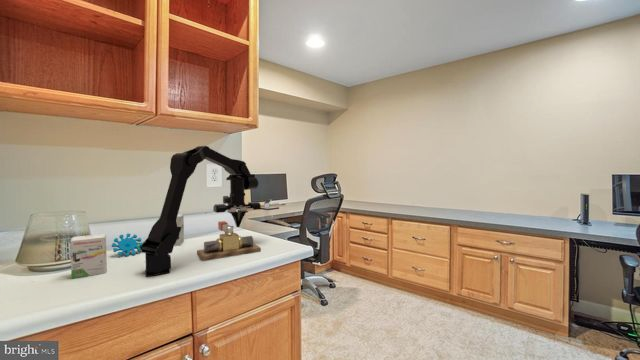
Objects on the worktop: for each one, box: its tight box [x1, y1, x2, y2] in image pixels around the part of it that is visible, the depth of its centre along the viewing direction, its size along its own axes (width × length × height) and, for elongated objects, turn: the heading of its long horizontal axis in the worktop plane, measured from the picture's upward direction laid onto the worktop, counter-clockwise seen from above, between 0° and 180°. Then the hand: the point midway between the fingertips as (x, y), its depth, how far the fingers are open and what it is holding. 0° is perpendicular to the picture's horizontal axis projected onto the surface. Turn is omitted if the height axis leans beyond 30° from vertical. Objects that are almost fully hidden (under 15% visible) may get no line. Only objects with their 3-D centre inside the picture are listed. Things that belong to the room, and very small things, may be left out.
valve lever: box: [217, 220, 234, 235], centre depth 116 cm, size 14×3×3 cm, turn 33°
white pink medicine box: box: [70, 233, 108, 279], centre depth 90 cm, size 8×5×12 cm, turn 125°
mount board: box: [196, 242, 262, 262], centre depth 112 cm, size 22×10×2 cm, turn 122°
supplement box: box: [174, 213, 185, 247], centre depth 126 cm, size 7×7×13 cm
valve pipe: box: [203, 232, 254, 253], centre depth 112 cm, size 18×6×6 cm, turn 122°
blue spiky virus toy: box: [111, 232, 145, 257], centre depth 112 cm, size 11×6×10 cm
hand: (237, 227), depth 122 cm, fingers closed
